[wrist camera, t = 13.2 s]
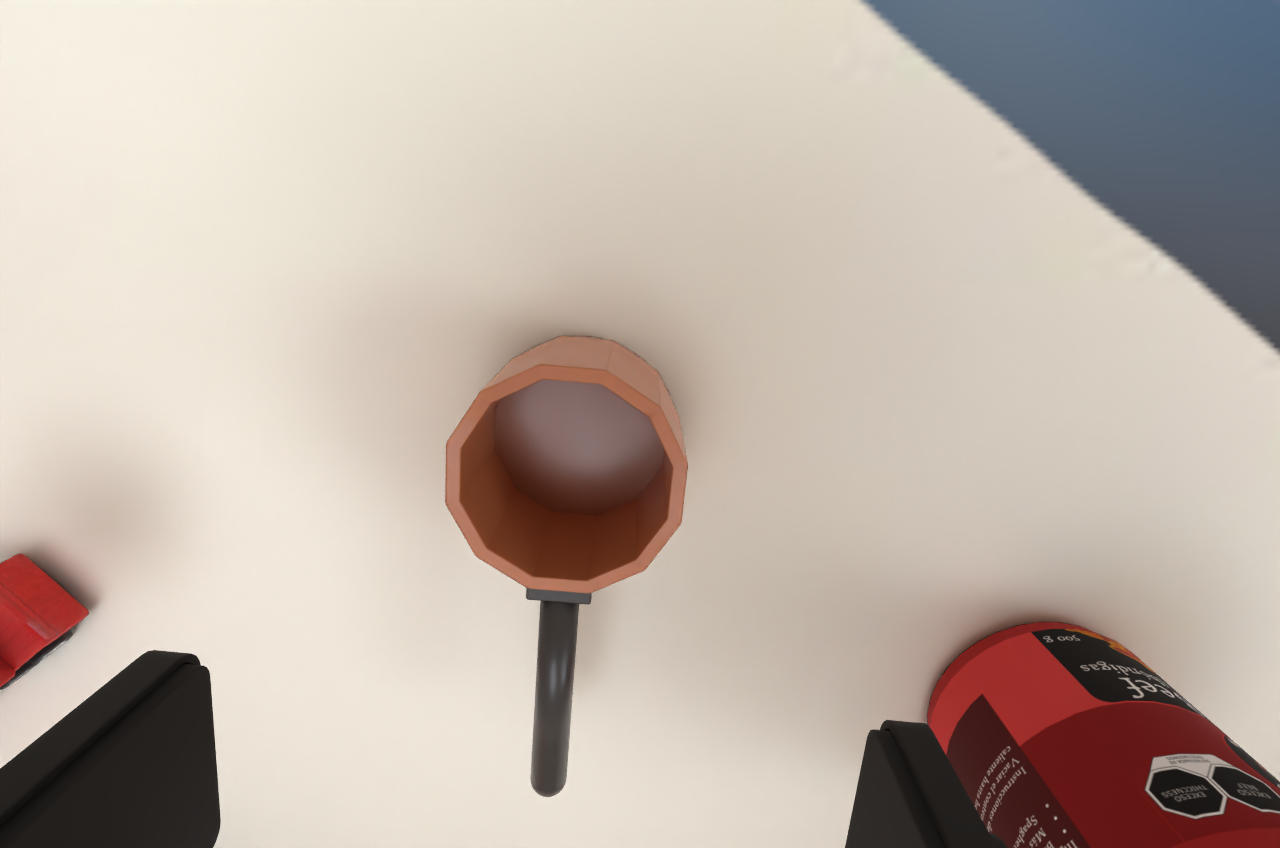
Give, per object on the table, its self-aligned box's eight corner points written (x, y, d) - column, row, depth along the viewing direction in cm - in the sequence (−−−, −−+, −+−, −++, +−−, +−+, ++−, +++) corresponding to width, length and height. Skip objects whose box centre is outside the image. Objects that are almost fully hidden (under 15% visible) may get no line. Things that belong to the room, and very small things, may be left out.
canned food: (1177, 712, 26) (1535, 1042, 16) (995, 827, 28) (1210, 1200, 17) (1063, 571, 25) (1376, 831, 14) (877, 701, 26) (1035, 1024, 16)
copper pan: (488, 327, 23) (446, 355, 18) (686, 344, 23) (697, 377, 18) (477, 695, 26) (440, 801, 22) (647, 708, 26) (648, 817, 22)
